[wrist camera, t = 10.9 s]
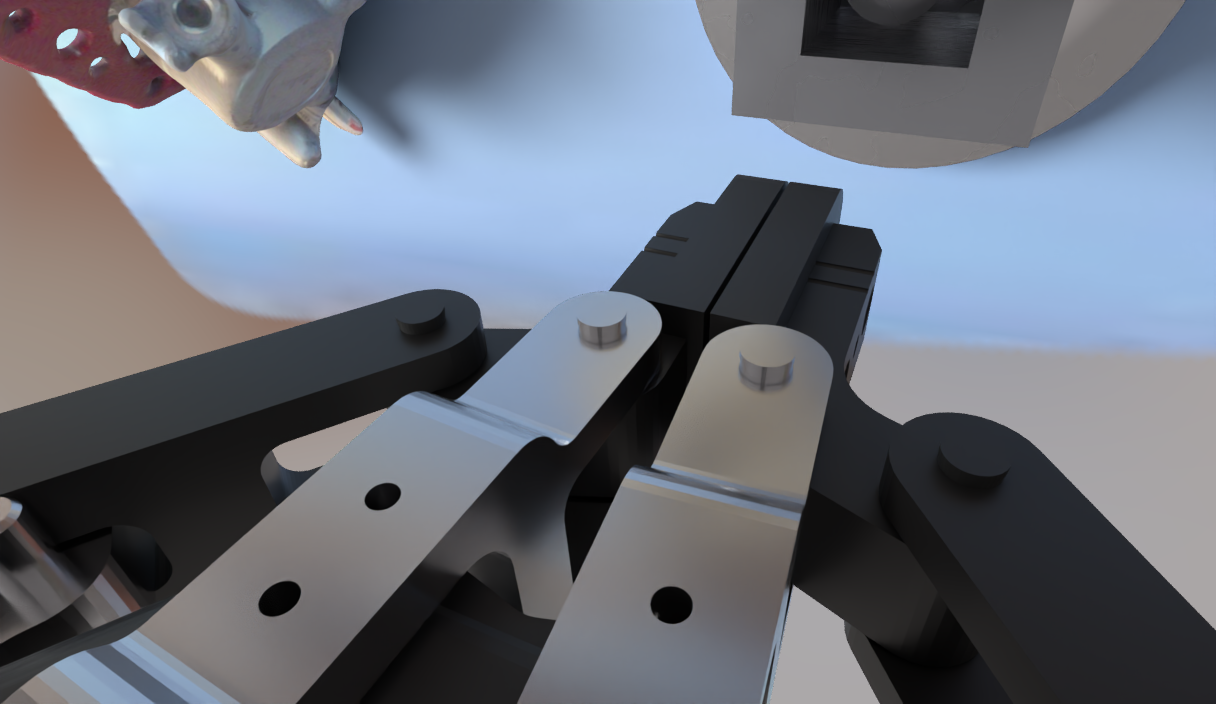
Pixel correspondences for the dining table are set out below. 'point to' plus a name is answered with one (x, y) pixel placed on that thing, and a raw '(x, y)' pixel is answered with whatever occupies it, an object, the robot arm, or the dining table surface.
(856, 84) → the square socket block
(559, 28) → the dining table surface
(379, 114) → the dining table surface
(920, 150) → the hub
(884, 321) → the dining table surface
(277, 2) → the brake caliper
